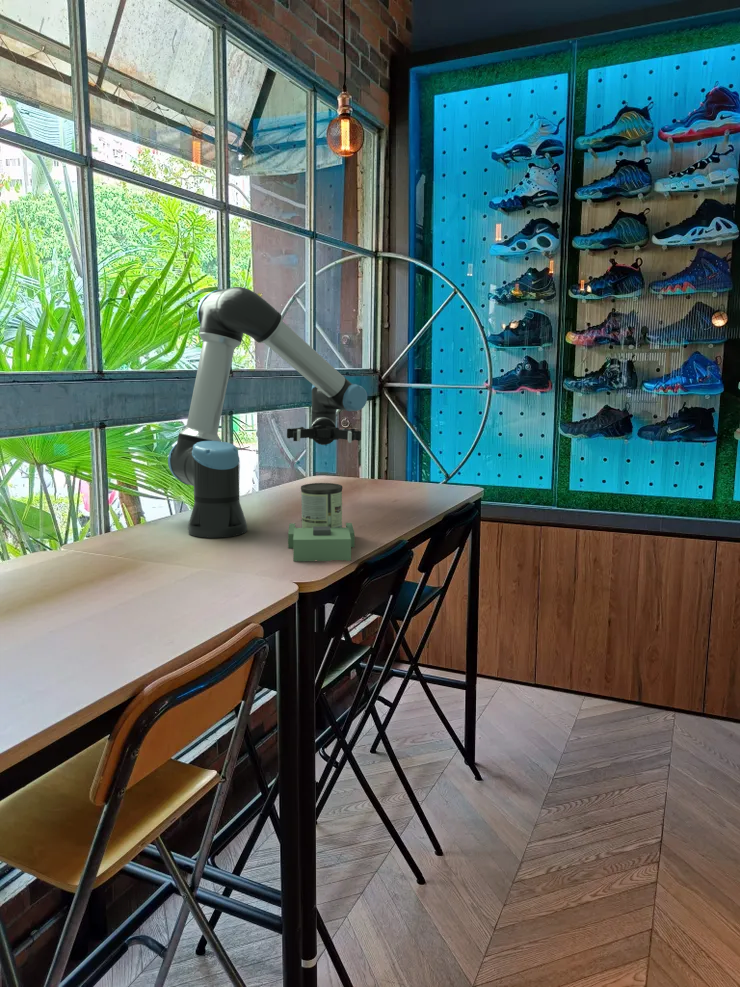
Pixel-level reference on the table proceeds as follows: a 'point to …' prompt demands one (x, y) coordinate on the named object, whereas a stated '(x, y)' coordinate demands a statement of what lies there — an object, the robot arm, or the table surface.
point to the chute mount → (321, 543)
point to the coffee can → (321, 505)
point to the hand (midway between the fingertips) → (324, 436)
